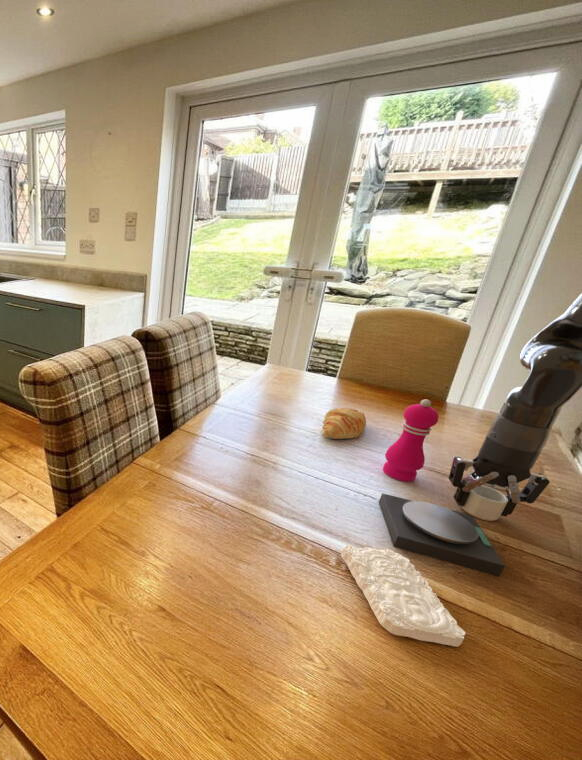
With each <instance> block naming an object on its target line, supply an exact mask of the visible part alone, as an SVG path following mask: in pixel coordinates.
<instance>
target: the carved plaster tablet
mask: <svg viewBox="0 0 582 760" xmlns="http://www.w3.org/2000/svg"><path fill="white" fill-rule="evenodd" d="M340 557H341V558H342V561H344V563H345V564H346V566H347V568H348V570H349V571H350V573H351V575H352V577H353V579H355V582H356V584H357V586H358V588H359V589H360V590H361V591H362V593H363V595H364V597H365V599H366V600H367V602H368V604H369V606H370V608H371V610H372V612H373V613H374V615H375V618H376V619H377V621H378V623H379V624H380V626H381V627H383V629H385V630H386V631H387V632H388V633H390V634H392V635H394V636H399V637H408V638H411V639H414V640H418V641H421V642H430V643H435V644H440V645H447V646H451V647H456V648H457V647H460V646H461V645H462V643H463V641H464V640H465V636H466V631H465V630H464V629H463V628H462V627H460V626H459V625H458V622H457V620H456V618H454V617H453V615H451V613H450V612H449V610H448V609H447V608H445V606H444V604H443V603H442V602H441V600H440V598H438V596H437V593H435V592H433V591H434V590H433V588H432V587H431V586H430V583H429V582H428V580H427V579H426V578H425V579H424V578H423V577H422V573H421V572H420V571H419V570H416V566H415V565H414V564H413V563H411V562H410V559H409V558H408V557H406V556H404V555H402V554H401V553H398V552H395V551H393V550H392V549H389V548H386V549H378V548H375V547H368V546H365V547H364V546H363V548H362V547H356V546H353V545H351V544H346V545H345V546H344V547H343V548H342V551H341V553H340Z"/></svg>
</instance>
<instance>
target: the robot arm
mask: <svg viewBox="0 0 582 760" xmlns="http://www.w3.org/2000/svg"><path fill="white" fill-rule="evenodd" d="M519 361H520V364H521V365H522V367H523V368H524V369H525V370H527V371H528V372H529V374H528V377H527V378H526V380H525V381H524V383H523V385H522V386H518V387H515V388H513V389H512V390H510V392H508V394H507V396H506V398H505V400H504V402H503V404H502V407H501V409H500V410H499V412H498V414H497V416H496V417H495V418H494V420H493V422H492V423H491V425H490V427H489V429H488V432H487V433H486V436H485V438H484V440H483V442H482V444H481V446H480V448H479V450H478V454H477V456H476V457H475V458H473V459H464V458H462V457H461V456H454V457H453V459H452V463H451V468H450V471H449V475H448V480H449V481H450V483H451V485H452V486H453V487H455V488H456V490H455V492H454V494H453V499H454V502H456V504H457V506H459V507H462V506H464V504H465V502H466V500H467V498H468V496H469V494H470V492H469V491H470V490H472V489H474V488H475V487H480V486H481V485H483V486H484V485H485V483H486V484H494V485H498V486H500V487H505V490H506V491H505V494H506V495H505V496H506V497H507V498H508V502H507V504H506V506H505V508H504V510H503V512H502V514H501V515H500V517H501V516H502V517H505V518H506V517H508V516H510V515H511V514H513V512H514V510H515V509H516V507H517V505H518V504H519V503H527V504H534V502H536V501H537V499H538V498H539V496H540V495H541V494H542V493H543V492H544V490H545V489H546V488H547V487H548V486H549V484H550V483H551V482H550V480H549V479H548V478H547V477H546V476H545V475H544V474H543V473H542V472H532V471H531V469H533V468H534V466H535V464H536V462H537V460H538V459H539V458H540V457H539V456H540V455H541V453H542V451H543V449H544V448H545V446H546V445H547V442H548V440H549V438H550V435H551V432H552V428H553V427H554V424H555V423H556V421H557V420H558V417H559V416H560V414H561V411H562V409H563V407H564V406H565V405H566V404H567V403H568V402H569V401H570V400H572V399H573V398H574V396H576V394H577V393H579V391H581V389H582V293H580V294H579V296H578V297H577V298H576V299H575V300H574V301H573V302H572V304H571V305H570V306H569V307H568V308H567V310H565V312H564V313H562V314H561V315H560V316H559V317H558V318H556V319H554V320H553V321H551V322H550V323H549V324H548V325H547V326H545V327H544V328H543V329H542V330H540V331H539V332H538V333H536V334H535V335H534V336H533V337H531V339H529V341H528V342H527V343H526V344H525V346H524V347H523V348H522V350H521V353H520V355H519ZM471 467H472V469H473V470H471V471H470V472H468V473H467V474H466V476H465V477H464V478H463V476H464V473H465V471H466V472H467V471H468V469H469V468H471ZM477 477H479V478H478V479H477ZM525 480H527V483H526V484H525V485H524V487H523V488H522V489H521V490H520V489H519V485H518V484H519V483H521V482H523V481H525Z"/></svg>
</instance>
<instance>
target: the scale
mask: <svg viewBox="0 0 582 760" xmlns="http://www.w3.org/2000/svg"><path fill="white" fill-rule="evenodd" d="M411 501H413V500H412V499H407V498H403V497H399V496H395V495H390V494H387V493H381V495H380V497H379V500H378V504H379V508H380V510H381V513H382V517H383V518H384V522H385V526H386V528H387V532H388V534H389V537H390V540H391V543H392V546H393V547H395V548H398V549H402V550H405V551H409V552H412V553H414V554H415V553H416V554H419V555H423V556H427V557H429V558H434V559H437V560H440V561H443V562H448V563H450V564H453V565H458V566H461V567H464V568H467V569H472V570H475V571H479V572H482V573H486V574H489V575H492V576H496V577H500V576H501V574H502V573H503V571H504V569H505V568H506V565H505V563H504V562H503V560H502V558H501V557H500V555H499V553H498V552H497V551H496V549H495V547H494V546H493V545H492V543H491V541H490V540H489V538H488V537H487V535H486V534H485V532H484V530H483V529H482V528H481V526H480V525H479V523H478V522H477V520H476V517H474V516H473V515H470V514H468V513H465V512H461V511H457V510H452V509H450V510H451V511H453V512H455V513H457V514H458V515H460V516H462V517H463V518H465V519H466V520H467V521H469V522H470V523H471V524H472V525H473V526H474V527H475V528H476V530H477V532H478V538H477V540H476V541H475V542H473V543H470V544H457V543H452V542H448V541H444V540H441V539H438V538H436V537H433V536H431V535H429V534H427V533H425V532H423V531H422V530H420V529H418V528H417V527H415V526H414V525H413V524H411V523H410V522H409V521H408V520H407V519H406V518H405V516H404V515H403V512H402V508H403V506H404V504H406V503H407V502H411Z"/></svg>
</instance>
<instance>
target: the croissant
mask: <svg viewBox="0 0 582 760" xmlns="http://www.w3.org/2000/svg"><path fill="white" fill-rule="evenodd" d="M322 423H323V426H322V431H321V435H322V437H324V438H326V439H335V440H341V439H343V440H344V439H352V438H354V439H356V438H359V437H360V435H361V434H362V432H364V430H365V429H366V426H367V418H366V416H365V413H363V412H360V411H359V410H357V409H353V408H348V407H347V408H346V407H340V408H334V409H331V410H329V411H327V412H326V413H325V415H324V420H323V421H322Z"/></svg>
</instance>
